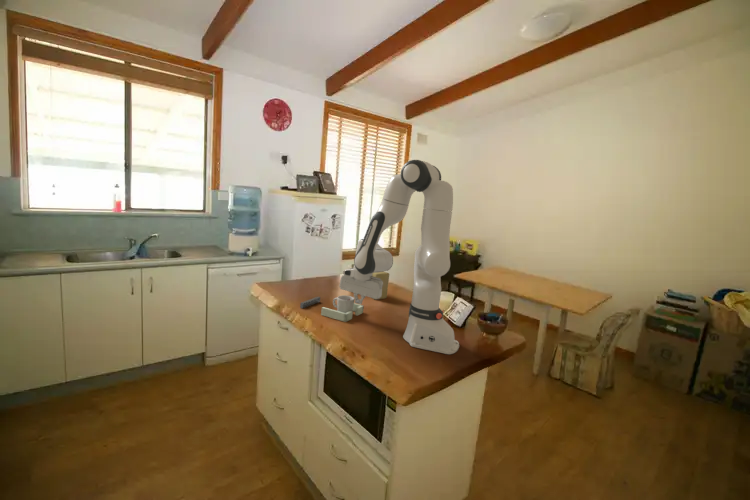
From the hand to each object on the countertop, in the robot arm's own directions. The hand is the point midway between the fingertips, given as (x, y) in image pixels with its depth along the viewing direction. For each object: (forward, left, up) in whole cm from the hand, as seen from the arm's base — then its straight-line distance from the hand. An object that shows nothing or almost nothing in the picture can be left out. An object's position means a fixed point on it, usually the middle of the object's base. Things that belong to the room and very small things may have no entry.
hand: (358, 303), depth 158 cm
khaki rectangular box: (+14, -40, -7) cm, 43 cm away
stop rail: (+26, 0, -7) cm, 27 cm away
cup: (+8, 0, -7) cm, 11 cm away
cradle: (+8, 0, -7) cm, 11 cm away
